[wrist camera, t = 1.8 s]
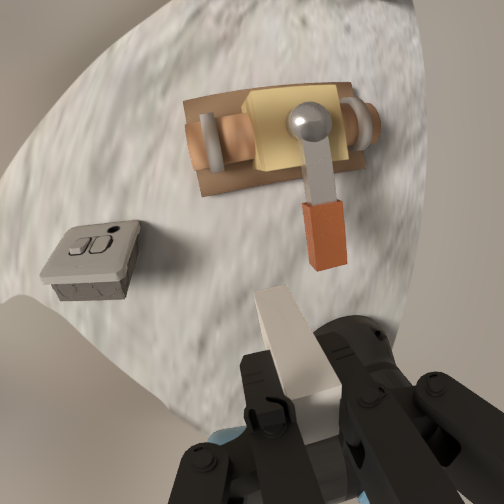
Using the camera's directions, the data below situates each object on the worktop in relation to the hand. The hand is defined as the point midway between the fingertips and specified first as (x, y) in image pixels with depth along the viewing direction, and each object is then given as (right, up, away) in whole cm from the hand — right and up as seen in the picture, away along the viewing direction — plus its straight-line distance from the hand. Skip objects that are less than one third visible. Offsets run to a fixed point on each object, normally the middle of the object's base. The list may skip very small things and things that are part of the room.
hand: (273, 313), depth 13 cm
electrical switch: (-17, +4, +17) cm, 25 cm away
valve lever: (+4, +8, +8) cm, 12 cm away
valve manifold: (+2, +15, +15) cm, 22 cm away
